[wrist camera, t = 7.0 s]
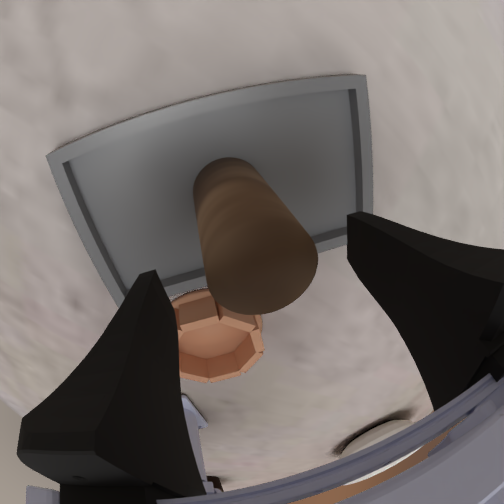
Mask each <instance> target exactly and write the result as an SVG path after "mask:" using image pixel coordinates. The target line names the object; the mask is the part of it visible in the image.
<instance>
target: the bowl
mask: <svg viewBox="0 0 504 504" xmlns="http://www.w3.org/2000/svg"><path fill="white" fill-rule="evenodd" d="M414 423H416V422H414ZM414 423H413V422H411V421H409V420H393V421H389V422H386V423H384V424H382V425H379V426H377V427H375V428H373V429H371V430H369V431H368V432H366V433H364V434H362V435H361V436H359V437H358V438H356V439H355V440H353V441H352V442H351V443H350V444H348V445H347V447H346V448H345V450H344V451H343V453H342V454H341V455H340V457H339V459H341V458H344V457H346V456H349V455H351V454H353V453H356V452H358V451H360V450H363V449H365V448H367V447H369V446H371V445H374V444H376V443H378V442H380V441H382V440H384V439H386V438H388V437H390V436H392V435H394V434H396V433H398V432H400V431H402V430H403V429H405V428H407V427H409V426H411V425H413V424H414ZM420 448H421V447H420ZM420 448H418V449H420ZM418 449H416V450H415V451H413V452H411V453H409V454H408V455H406V456H404V457H402V458H400V459H398V460H396V461H394V462H393V463H391V464H389V465H387V466H385V467H383V468H380V469H378V470H376V471H374V472H372V473H370V474H368V475H365V476H363V477H361V478H359V479H356V480H354V481H351V482H349V483H347V484H344V485H349V484H353V483H356V482H359V481H361V480H364V479H367V478H369V477H372V476H374V475H376V474H378V473H380V472H382V471H384V470H386V469H388V468H390V467H392V466H394V465H396V464H397V463H399V462H400V461H402V460H404V459H405V458H407V457H409V456H410V455H411V454H413V453H414V452H416V451H417V450H418Z"/></svg>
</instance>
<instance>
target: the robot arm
mask: <svg viewBox="0 0 504 504" xmlns="http://www.w3.org/2000/svg"><path fill="white" fill-rule="evenodd" d="M347 259H348V261H349V263H350V265H351V266H352V268H353V270H354V271H355V273H356V275H357V276H358V278H359V279H360V281H361V282H362V283H363V285H364V286H365V287H366V288H367V290H368V291H369V292H370V293H371V295H372V296H373V297H374V298H375V300H376V301H377V302H378V304H379V305H380V306H381V307H382V309H383V310H384V311H385V312H386V314H387V315H388V316H389V318H390V319H391V320H392V322H393V323H394V325H395V326H396V328H397V330H398V331H399V333H400V335H401V337H402V338H403V340H404V342H405V344H406V345H407V347H408V349H409V351H410V353H411V355H412V357H413V359H414V361H415V363H416V365H417V367H418V370H419V372H420V374H421V377H422V379H423V381H424V383H425V386H426V389H427V391H428V394H429V397H430V400H431V402H432V405H433V408H434V412H433V413H431V414H430V415H428V416H426V417H425V418H423V419H421V420H420V421H418V422H416V423H414V424H413V425H411V426H409V427H407V428H405V429H403V430H402V431H400V432H398V433H396V434H394V435H392V436H390V437H388V438H386V439H384V440H382V441H380V442H378V443H376V444H374V445H371V446H369V447H367V448H365V449H363V450H360V451H358V452H356V453H353V454H351V455H349V456H346V457H344V458H341V459H339V460H336V461H334V462H331V463H328V464H326V465H323V466H320V467H317V468H314V469H311V470H308V471H305V472H302V473H299V474H296V475H293V476H289V477H286V478H283V479H279V480H275V481H272V482H268V483H264V484H260V485H256V486H251V487H247V488H242V489H237V490H232V491H227V492H222V491H221V490H219V489H217V488H214V487H213V482H207V477H206V472H205V466H204V461H203V455H202V449H201V443H200V437H199V431H198V429H200V428H205V427H207V426H208V423H207V422H206V420H205V419H204V418H203V417H202V416H201V414H200V413H199V412H198V410H197V409H196V408H195V407H194V405H193V404H192V403H191V401H190V400H189V399H188V398H187V396H185V395H181V388H180V370H179V340H178V329H177V322H176V316H175V310H174V308H173V306H172V304H171V302H170V300H169V298H168V296H167V293H166V291H165V289H164V287H163V285H162V283H161V281H160V278H159V276H158V274H157V272H156V269H154V270H151V271H148V272H144V273H141V274H139V276H138V277H137V279H136V280H135V282H134V284H133V285H132V287H131V289H130V290H129V292H128V294H127V296H126V297H125V299H124V301H123V302H122V304H121V306H120V307H119V309H118V311H117V312H116V314H115V316H114V317H113V319H112V320H111V322H110V323H109V325H108V326H107V328H106V329H105V331H104V333H103V334H102V336H101V337H100V338H99V340H98V341H97V343H96V344H95V345H94V347H93V348H92V349H91V350H90V352H89V353H88V354H87V356H86V357H85V358H84V359H83V360H82V362H81V363H80V364H79V365H78V366H77V367H76V368H75V370H74V371H73V372H72V373H71V374H70V375H69V376H68V378H67V379H66V380H65V381H64V382H63V383H62V384H61V385H60V386H59V387H58V388H57V389H56V390H55V391H54V392H52V393H51V394H50V395H49V396H48V397H47V398H46V399H45V400H44V401H43V402H41V403H40V404H39V405H38V406H37V407H35V408H34V409H33V410H32V411H30V412H29V413H28V414H27V415H25V416H24V417H23V418H22V422H21V428H20V434H19V441H18V447H17V456H18V457H19V459H20V460H21V461H22V462H23V463H24V464H25V465H26V466H28V467H29V468H31V469H33V470H34V471H36V472H38V473H40V474H42V475H44V476H45V477H47V478H49V479H51V480H53V481H56V482H57V483H59V484H60V492H59V491H56V490H52V489H47V488H40V487H35V486H29V485H28V486H27V488H26V504H287V503H291V502H294V501H298V500H301V499H304V498H307V497H311V496H314V495H317V494H320V493H322V492H325V491H328V490H331V489H334V488H336V487H339V486H341V485H344V484H347V483H349V482H351V481H354V480H356V479H359V478H361V477H363V476H365V475H368V474H370V473H372V472H374V471H376V470H378V469H380V468H383V467H385V466H387V465H389V464H391V463H393V462H394V461H396V460H398V459H400V458H402V457H404V456H406V455H408V454H409V453H411V452H413V451H415V450H416V449H418V448H420V447H422V446H423V445H425V444H427V443H428V442H430V441H431V440H433V439H435V438H436V437H438V436H439V435H441V434H442V433H444V432H445V431H447V430H448V429H450V428H451V427H453V426H454V425H456V424H457V423H459V422H460V421H461V420H463V419H464V418H466V417H467V418H466V419H465V420H463V421H462V422H461V423H460V424H458V425H457V426H456V427H455V428H453V429H452V430H451V431H450V432H449V433H448V434H447V436H446V437H445V438H444V439H443V440H442V441H441V442H440V443H439V444H438V445H437V446H436V447H435V448H433V449H432V450H431V451H430V452H429V453H428V457H429V458H427V459H425V460H424V461H422V462H420V463H418V464H417V465H415V466H413V467H411V468H409V469H408V470H406V471H404V472H402V473H400V474H398V475H396V476H395V477H393V478H391V479H389V480H387V481H385V482H383V483H380V484H379V485H377V486H374V487H372V488H370V489H368V490H366V491H363V492H361V493H359V494H357V495H354V496H352V497H350V498H347V499H345V500H342V501H340V502H337V503H335V504H504V250H503V249H492V248H485V247H479V246H474V245H468V244H463V243H459V242H455V241H451V240H447V239H443V238H439V237H436V236H433V235H430V234H427V233H424V232H421V231H418V230H415V229H412V228H409V227H406V226H404V225H401V224H398V223H395V222H393V221H390V220H387V219H385V218H382V217H379V216H376V215H373V214H370V213H366V212H362V211H359V212H355V213H351V214H348V215H347Z"/></svg>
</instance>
